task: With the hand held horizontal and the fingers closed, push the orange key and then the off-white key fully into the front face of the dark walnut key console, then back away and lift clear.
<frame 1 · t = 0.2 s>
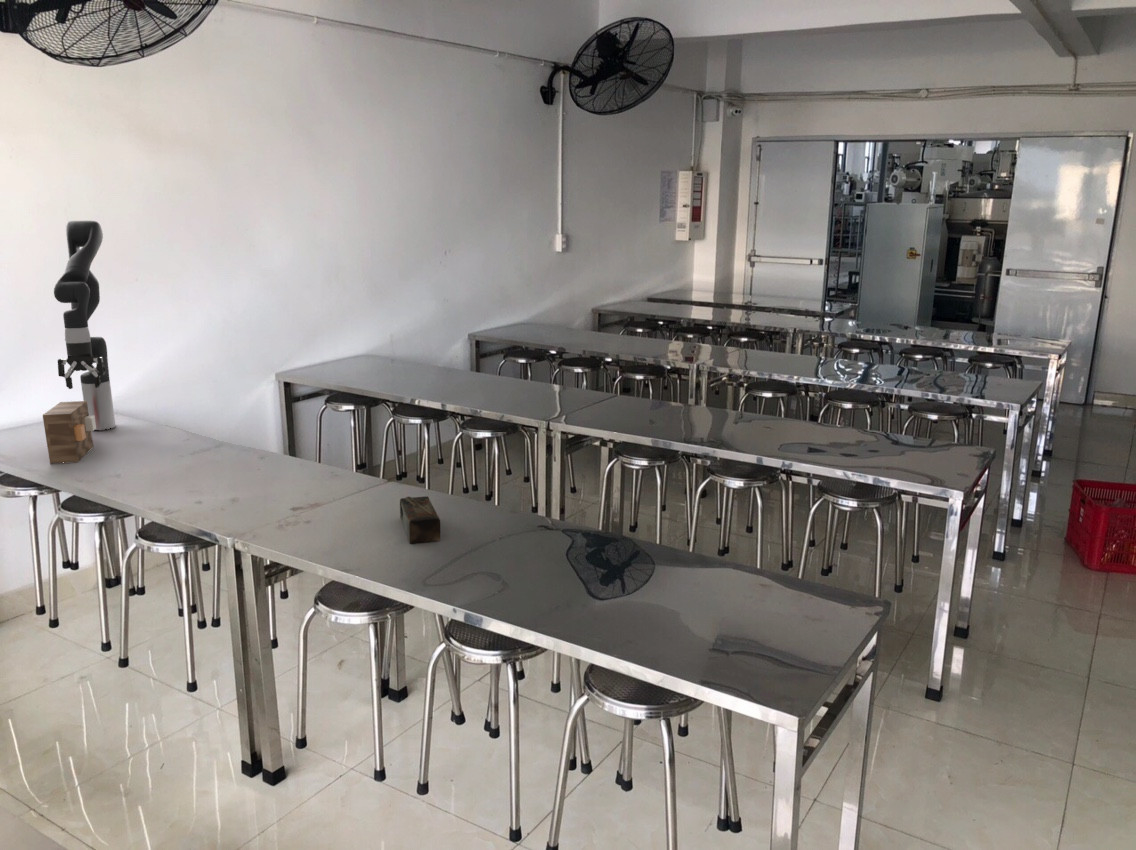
hand: (84, 388, 308), 18 cm above the table, tool pointing down, fingers open, 8 cm apart
white key: (85, 423, 296), point 9 cm above the table, slide at 0.0 cm
key console: (72, 455, 292), on the table
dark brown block: (419, 531, 229), on the table
orange key: (74, 432, 285), point 9 cm above the table, slide at 0.0 cm
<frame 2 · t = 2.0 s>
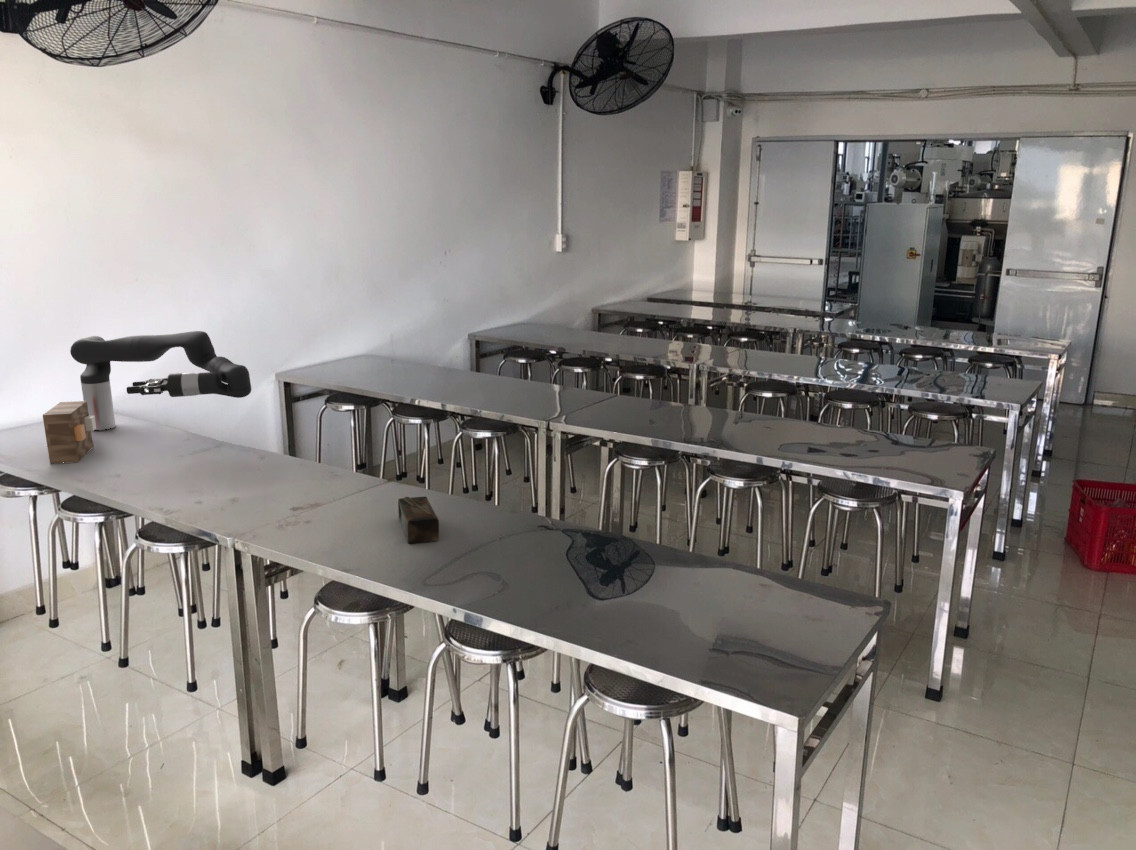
hand: (130, 387, 285), 23 cm above the table, tool horizontal, fingers open, 7 cm apart
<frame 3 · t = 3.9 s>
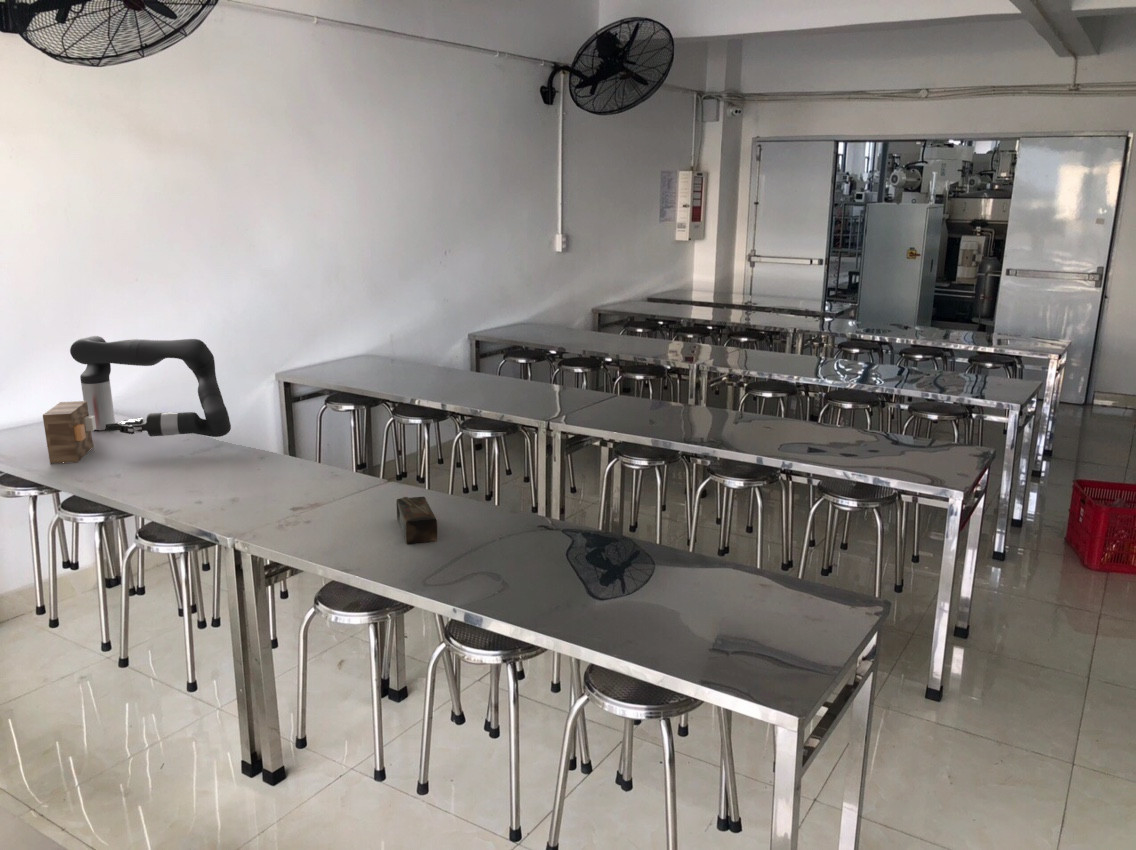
hand: (106, 427, 287), 10 cm above the table, tool horizontal, fingers closed
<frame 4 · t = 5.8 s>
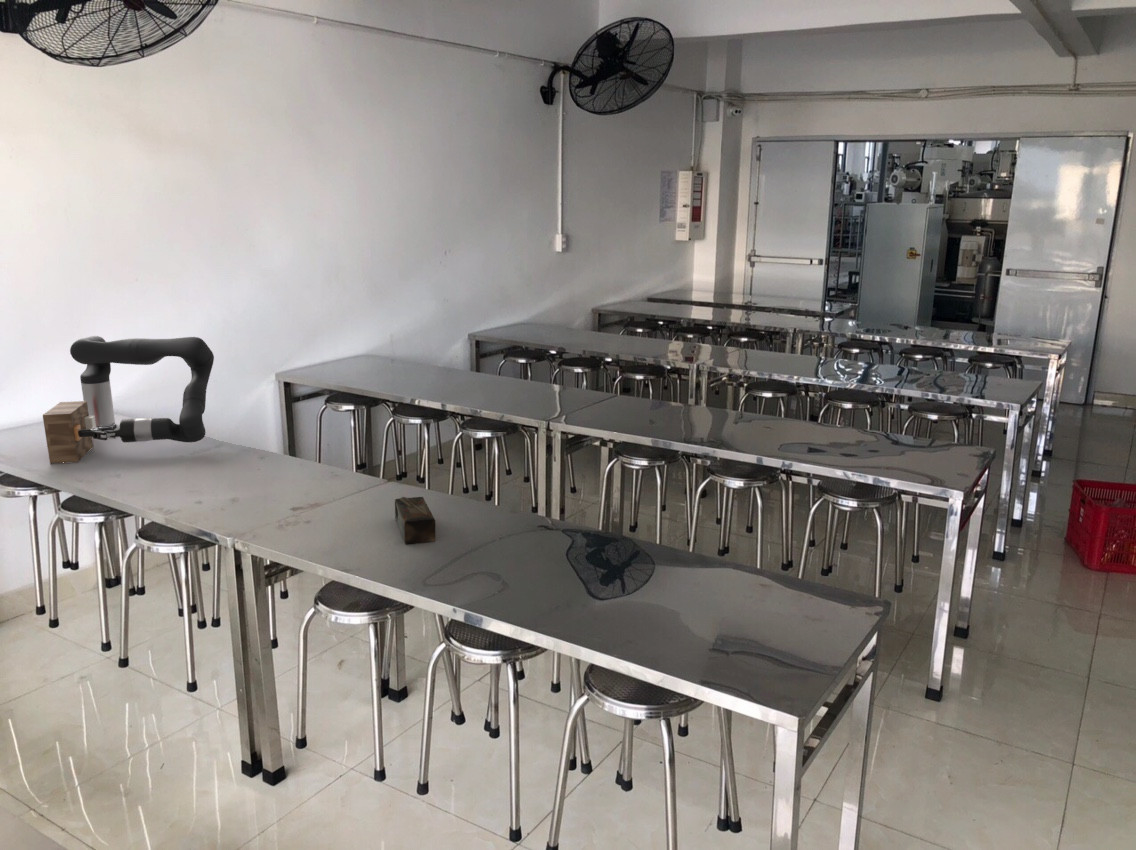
hand: (79, 433, 285), 9 cm above the table, tool horizontal, fingers closed
orange key: (70, 433, 285), point 9 cm above the table, slide at 1.1 cm, touching gripper
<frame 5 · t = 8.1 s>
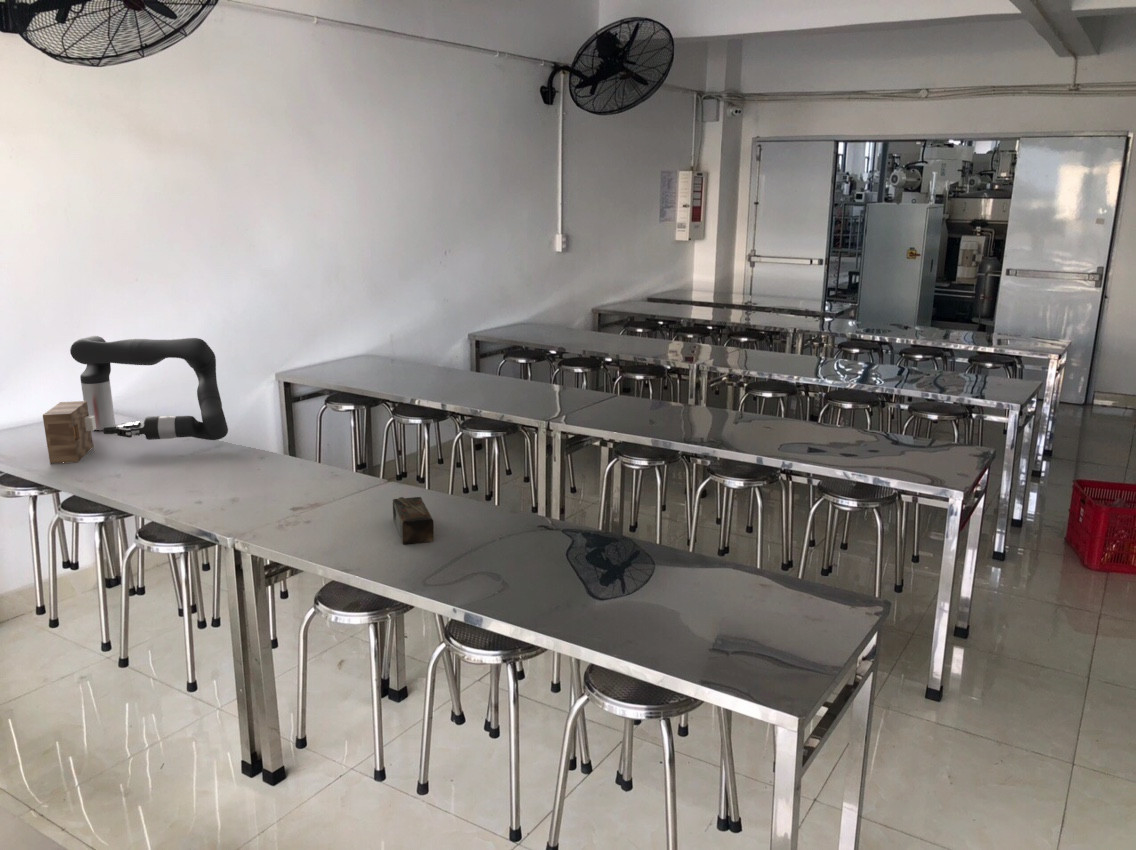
hand: (104, 430, 289), 9 cm above the table, tool horizontal, fingers closed
orange key: (64, 433, 284), point 9 cm above the table, slide at 3.0 cm
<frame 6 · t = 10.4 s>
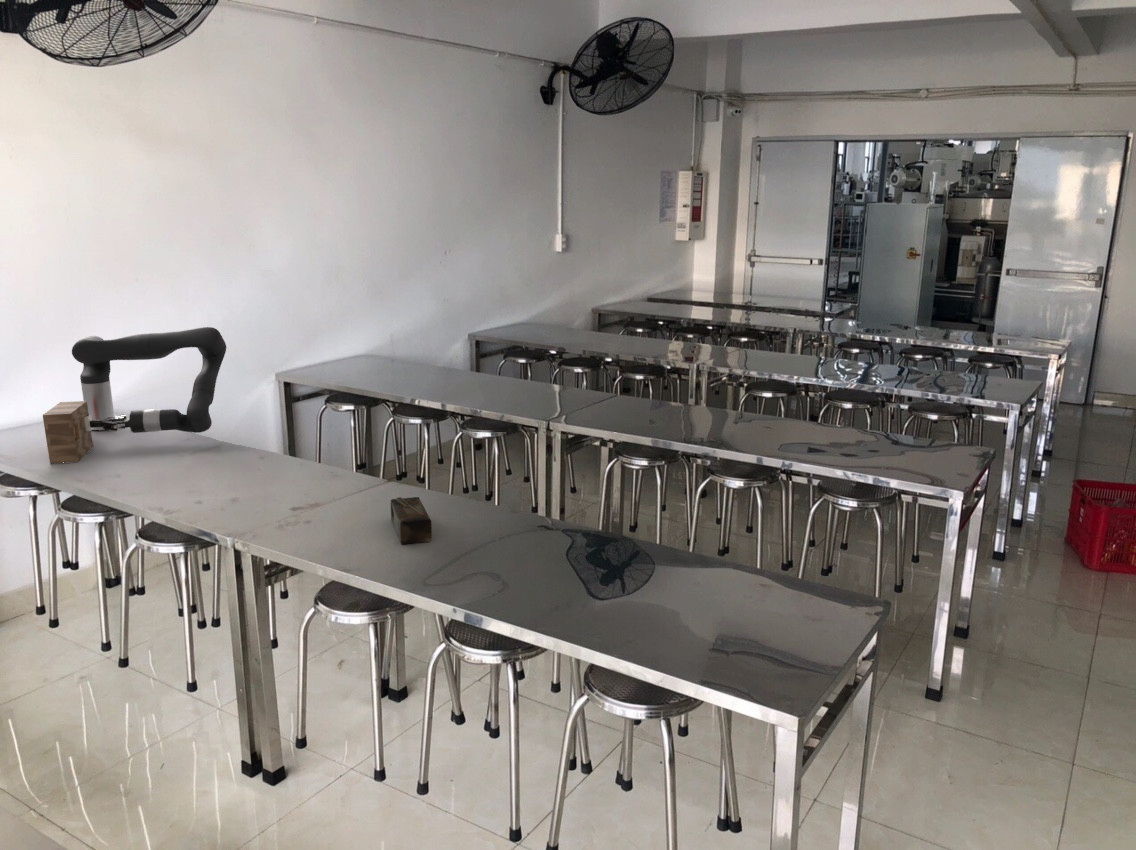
hand: (90, 423, 297), 9 cm above the table, tool horizontal, fingers closed
white key: (82, 423, 296), point 9 cm above the table, slide at 0.9 cm, touching gripper
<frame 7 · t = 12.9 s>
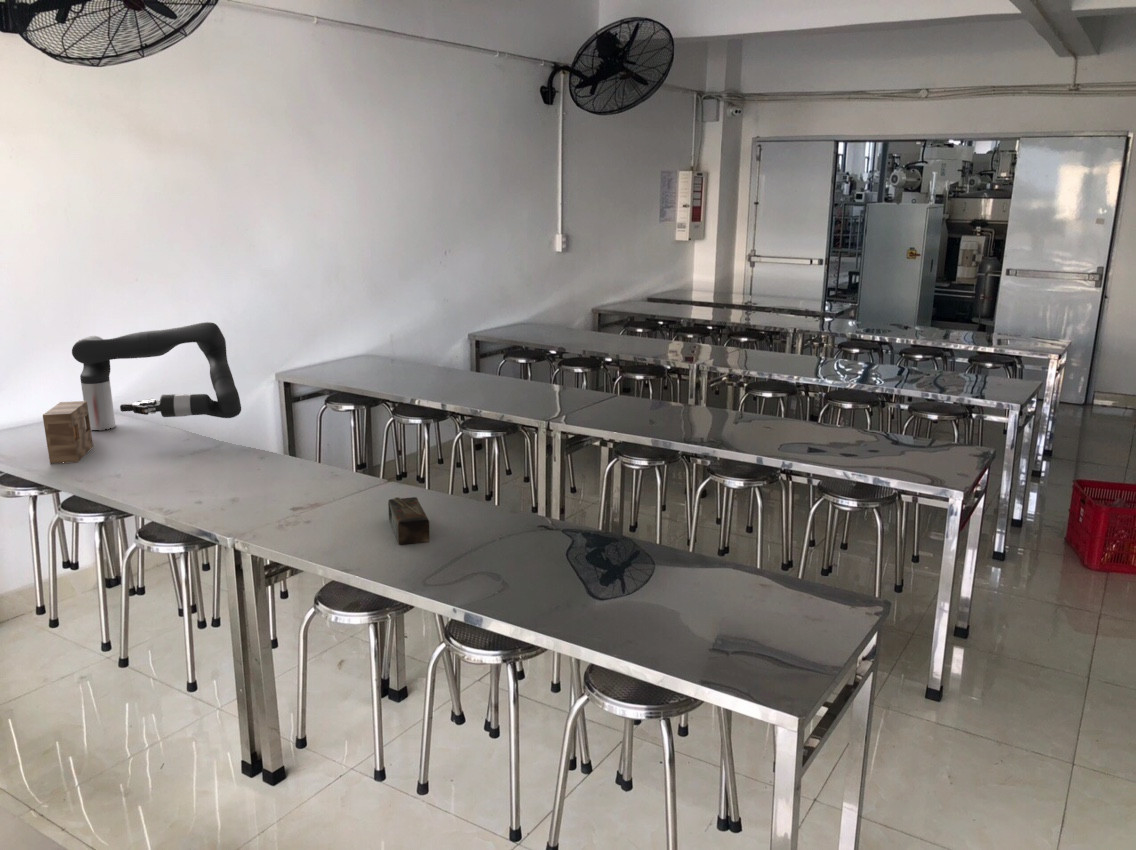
hand: (120, 407, 296), 14 cm above the table, tool horizontal, fingers closed
white key: (75, 424, 296), point 9 cm above the table, slide at 2.9 cm
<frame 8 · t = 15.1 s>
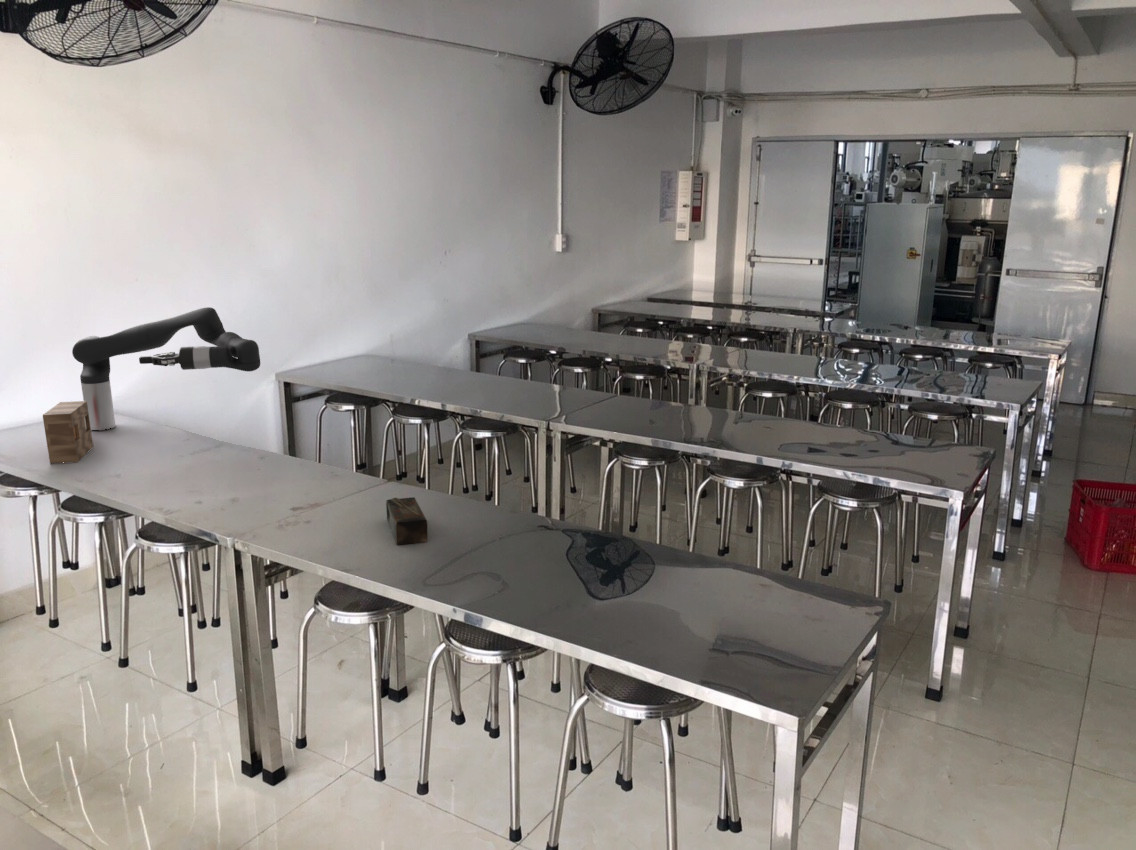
hand: (139, 360, 293), 30 cm above the table, tool horizontal, fingers closed
at the end: orange key slide at 3.0 cm; white key slide at 2.9 cm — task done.
